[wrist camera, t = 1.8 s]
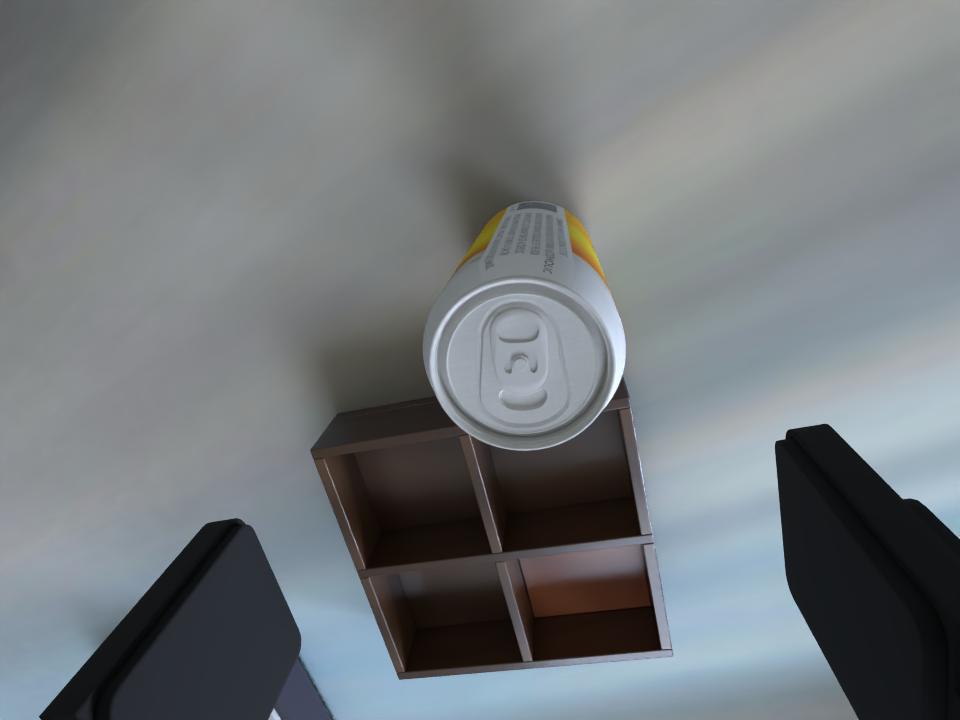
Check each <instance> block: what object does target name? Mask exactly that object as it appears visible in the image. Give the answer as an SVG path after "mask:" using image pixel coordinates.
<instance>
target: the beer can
mask: <svg viewBox="0 0 960 720" xmlns="http://www.w3.org/2000/svg"><path fill="white" fill-rule="evenodd" d="M625 358H626V342H625V335H624V330H623V326H622V323H621V320H620V317H619V314H618V312H617V309H616V306H615V304H614V301H613V298H612V296H611V293H610V290H609V288H608V285H607V282H606V280H605V277H604V274H603V272H602V269H601V266H600V264H599V261H598V258H597V256H596V253H595V250H594V248H593V245H592V243H591V240H590V237H589V235H588V233H587V231H586V230H585V228H584V226H583V225H582V224H581V222H580V221H579V220H578V219H577V218H576V217H575V216H574V215H572V214H571V213H570V212H568V211H567V210H565V209H564V208H562V207H560V206H558V205H555V204H552V203H548V202H543V201H526V202H520V203H517V204H514V205H511V206H509V207H507V208H505V209H503V210H501V211H500V212H499V213H497V214H496V215H495V216H494V217H492V218H491V219H490V220H489V222H488V223H487V224H486V225H485V227H484V228H483V230H482V231H481V233H480V234H479V236H478V237H477V239H476V240H475V242H474V243H473V245H472V246H471V248H470V249H469V251H468V252H467V254H466V256H465V257H464V259H463V260H462V262H461V263H460V265H459V266H458V268H457V269H456V271H455V272H454V274H453V275H452V277H451V279H450V280H449V282H448V283H447V285H446V286H445V288H444V289H443V291H442V292H441V294H440V295H439V297H438V298H437V300H436V302H435V303H434V305H433V307H432V309H431V311H430V314H429V316H428V319H427V322H426V326H425V330H424V336H423V359H424V366H425V369H426V373H427V376H428V379H429V382H430V384H431V386H432V388H433V390H434V392H435V394H436V397H437V399H438V401H439V403H440V404H441V406H442V408H443V409H444V411H445V412H446V413H447V415H448V416H449V417H450V418H451V419H452V420H453V422H455V423H456V424H457V425H458V426H459V427H460V428H461V429H463V430H464V431H465V432H467V433H468V434H469V435H471V436H473V437H475V438H476V439H478V440H480V441H482V442H485V443H487V444H490V445H493V446H496V447H500V448H504V449H510V450H524V451H528V450H539V449H544V448H549V447H552V446H555V445H558V444H561V443H563V442H566V441H568V440H569V439H571V438H573V437H575V436H576V435H578V434H579V433H581V432H582V431H584V430H585V429H586V428H587V427H588V426H589V425H590V424H591V423H592V422H593V421H594V420H595V419H596V418H597V417H598V416H599V414H600V413H601V411H602V410H603V409H604V408H605V407H606V406H607V404H608V403H609V401H610V400H611V399H612V397H613V395H614V393H615V392H616V390H617V388H618V385H619V383H620V380H621V378H622V374H623V370H624V366H625Z"/></svg>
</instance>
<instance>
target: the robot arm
mask: <svg viewBox="0 0 960 720" xmlns="http://www.w3.org/2000/svg"><path fill="white" fill-rule="evenodd" d="M775 455H776V466H777V478H778V489H779V501H780V512H781V524H782V535H783V547H784V558H785V570H786V578H787V582H788V585H789V589H790V591H791V594H792V596H793V598H794V600H795V602H796V604H797V606H798V608H799V610H800V612H801V613H802V615H803V617H804V619H805V621H806V623H807V624H808V626H809V628H810V630H811V632H812V634H813V636H814V637H815V639H816V641H817V643H818V645H819V647H820V648H821V650H822V652H823V654H824V656H825V658H826V660H827V661H828V663H829V665H830V667H831V669H832V671H833V672H834V674H835V676H836V678H837V680H838V682H839V684H840V685H841V687H842V689H843V691H844V693H845V695H846V697H847V698H848V700H849V702H850V704H851V706H852V708H853V709H854V711H855V713H856V715H857V717H858V719H859V720H960V539H959V538H958V537H957V536H956V535H955V534H954V533H953V532H952V531H951V530H950V529H948V528H947V527H946V526H945V525H944V524H943V523H942V522H941V521H940V520H939V519H938V518H937V517H936V516H935V515H934V514H933V513H932V512H931V511H930V510H929V509H928V508H927V507H926V506H924V505H923V504H922V503H920V502H919V501H918V500H914V499H902V498H901V497H900V496H899V495H898V494H897V493H896V492H895V491H894V490H893V489H892V488H891V487H890V486H889V485H888V484H887V483H886V482H885V481H884V480H883V479H882V478H881V477H880V476H879V475H878V474H877V473H876V472H875V471H874V470H873V469H872V468H871V467H870V466H869V465H868V464H867V463H866V462H865V461H864V460H863V459H862V458H861V457H860V456H859V455H858V454H857V453H856V452H855V451H854V450H853V449H852V448H851V447H850V446H849V444H848V443H847V442H846V441H845V440H844V439H843V438H842V437H841V436H840V435H839V434H838V433H837V432H836V431H835V430H834V429H833V428H832V427H831V426H829V425H828V424H821V425H815V426H809V427H802V428H796V429H790V430H788V431H787V432H786V439H785V440H779V441H776V443H775ZM300 648H301V635H300V632H299V629H298V627H297V625H296V622H295V620H294V618H293V616H292V614H291V611H290V609H289V607H288V605H287V602H286V600H285V598H284V596H283V593H282V591H281V589H280V587H279V585H278V582H277V580H276V578H275V576H274V573H273V571H272V569H271V567H270V564H269V562H268V560H267V558H266V556H265V553H264V551H263V549H262V547H261V544H260V542H259V540H258V538H257V535H256V533H255V531H254V529H253V528H252V527H251V526H250V525H246V524H245V523H244V522H243V521H242V520H241V519H237V518H235V519H229V520H223V521H216V522H211V523H207V524H206V525H205V526H203V527H202V528H201V530H200V531H199V532H198V533H197V534H196V535H195V537H194V538H193V539H192V540H191V541H190V542H189V544H188V545H187V546H186V547H185V548H184V549H183V550H182V552H181V553H180V554H179V555H178V556H177V557H176V559H175V560H174V561H173V562H172V563H171V564H170V566H169V567H168V568H167V569H166V570H165V571H164V572H163V574H162V575H161V576H160V577H159V578H158V579H157V581H156V582H155V583H154V584H153V585H152V586H151V588H150V589H149V590H148V591H147V592H146V593H145V594H144V596H143V597H142V598H141V599H140V600H139V601H138V603H137V604H136V605H135V606H134V607H133V608H132V610H131V611H130V612H129V613H128V614H127V615H126V616H125V618H124V619H123V620H122V621H121V622H120V623H119V625H118V626H117V627H116V628H115V629H114V630H113V632H112V633H111V634H110V635H109V636H108V637H107V639H106V640H105V641H104V642H103V643H102V644H101V645H100V647H99V648H98V649H97V650H96V651H95V652H94V654H93V655H92V656H91V657H90V658H89V659H88V661H87V662H86V663H85V664H84V665H83V666H82V667H81V669H80V670H79V671H78V672H77V673H76V674H75V676H74V677H73V678H72V679H71V680H70V681H69V683H68V684H67V685H66V686H65V687H64V688H63V689H62V691H61V692H60V693H59V694H58V695H57V696H56V698H55V699H54V700H53V701H52V702H51V703H50V705H49V706H48V707H47V708H46V709H45V710H44V711H43V713H42V714H41V715H40V716H39V717H40V719H41V720H268V719H269V717H270V715H271V713H272V711H273V709H274V707H275V704H276V702H277V700H278V698H279V696H280V694H281V692H282V689H283V687H284V685H285V683H286V681H287V679H288V677H289V674H290V672H291V670H292V668H293V666H294V664H295V662H296V659H297V657H298V655H299V652H300Z"/></svg>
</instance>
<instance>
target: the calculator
mask: <svg viewBox="0 0 960 720" xmlns="http://www.w3.org/2000/svg"><path fill="white" fill-rule="evenodd" d="M268 720H332V718H331V716H330V715H329V713H328V711H327V709H326V707H325V705H324V704H323V702H322V700H321V698H320V696H319V695H318V693H317V691H316V689H315V687H314V686H313V684H312V682H311V680H310V678H309V676H308V675H307V673H306V671H305V669H304V667H303V666H302V664H301V662H300V660H299V658H298V657H297V659H296V662H295V664H294V666H293V668H292V670H291V672H290V674H289V677H288V679H287V681H286V683H285V685H284V687H283V689H282V692H281V694H280V696H279V698H278V700H277V702H276V704H275V707H274V709H273V711H272V713H271V715H270V717H269V719H268Z"/></svg>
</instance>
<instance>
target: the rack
mask: <svg viewBox="0 0 960 720" xmlns="http://www.w3.org/2000/svg"><path fill="white" fill-rule="evenodd" d="M310 451H311V454H312V456H313V459H314V462H315V464H316V467H317V469H318V472H319V475H320V477H321V480H322V482H323V485H324V487H325V490H326V493H327V495H328V498H329V500H330V503H331V506H332V508H333V511H334V513H335V516H336V518H337V521H338V524H339V526H340V529H341V531H342V534H343V536H344V539H345V542H346V544H347V547H348V549H349V552H350V554H351V557H352V560H353V562H354V565H355V567H356V570H357V572H358V575H359V577H360V580H361V583H362V585H363V588H364V590H365V593H366V596H367V598H368V601H369V603H370V606H371V608H372V611H373V614H374V616H375V619H376V621H377V624H378V627H379V629H380V632H381V634H382V637H383V639H384V642H385V645H386V647H387V650H388V652H389V655H390V657H391V660H392V663H393V665H394V668H395V670H396V672H397V675H398V678H399V680H402V679H413V678H425V677H437V676H449V675H460V674H472V673H484V672H496V671H507V670H519V669H531V668H543V667H554V666H566V665H578V664H590V663H601V662H613V661H625V660H637V659H648V658H660V657H672V656H673V652H672V646H671V640H670V634H669V628H668V622H667V616H666V610H665V604H664V598H663V592H662V587H661V581H660V575H659V569H658V563H657V557H656V551H655V545H654V539H653V534H652V528H651V522H650V516H649V510H648V504H647V498H646V492H645V486H644V480H643V474H642V469H641V463H640V457H639V451H638V445H637V439H636V433H635V427H634V421H633V415H632V409H631V404H630V398H629V394H628V391H627V387H626V384H625V381H624V377H623V374H622V378H621V380H620V383H619V385H618V388H617V390H616V392H615V393H614V395H613V397H612V399H611V400H610V401H609V403H608V404H607V406H606V407H605V408H604V409H603V410H602V411H601V413H600V414H599V416H598V417H597V418H596V419H595V420H594V421H593V422H592V423H591V424H590V425H589V426H588V427H587V428H586V429H585V430H584V431H582V432H581V433H579V434H578V435H576V436H575V437H573V438H571V439H569V440H568V441H566V442H563V443H561V444H558V445H555V446H552V447H549V448H544V449H539V450H528V451H524V450H510V449H504V448H500V447H496V446H493V445H490V444H487V443H485V442H482V441H480V440H478V439H476V438H475V437H473V436H471V435H469V434H468V433H467V432H465V431H464V430H463V429H461V428H460V427H459V426H458V425H457V424H456V423H455V422H453V420H452V419H451V418H450V417H449V416H448V415H447V413H446V412H445V411H444V409H443V408H442V406H441V404H440V403H439V401H438V399H437V397H430V398H425V399H419V400H414V401H408V402H403V403H397V404H391V405H386V406H380V407H375V408H369V409H363V410H358V411H352V412H347V413H341V414H337V415H336V416H335V418H334V419H333V420H332V422H331V423H330V424H329V426H328V427H327V428H326V430H325V431H324V432H323V434H322V435H321V436H320V438H319V439H318V440H317V442H316V443H315V445H314V446H313V447H312V449H311V450H310Z"/></svg>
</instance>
